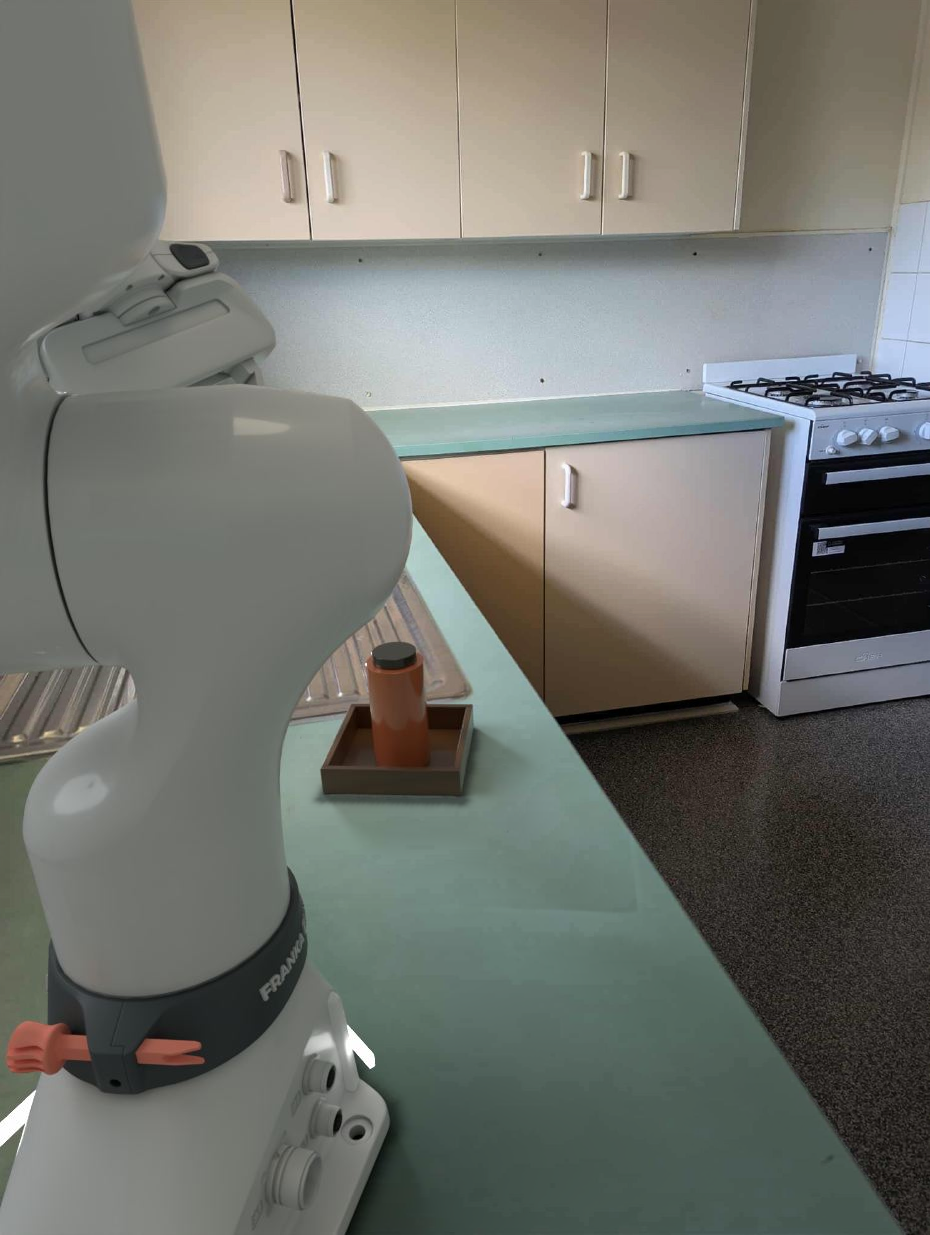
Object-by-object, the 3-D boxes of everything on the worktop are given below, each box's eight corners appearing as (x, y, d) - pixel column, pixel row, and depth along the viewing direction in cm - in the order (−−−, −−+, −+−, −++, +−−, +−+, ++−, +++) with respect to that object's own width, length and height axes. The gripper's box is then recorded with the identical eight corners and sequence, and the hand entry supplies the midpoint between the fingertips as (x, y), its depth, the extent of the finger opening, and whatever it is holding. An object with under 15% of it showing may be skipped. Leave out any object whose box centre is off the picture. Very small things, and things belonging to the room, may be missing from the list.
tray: (461, 801, 76) (459, 770, 74) (323, 799, 77) (319, 768, 76) (474, 731, 87) (472, 704, 86) (353, 730, 88) (351, 703, 87)
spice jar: (426, 773, 79) (418, 662, 75) (370, 772, 79) (358, 662, 75) (434, 744, 84) (427, 638, 80) (380, 743, 84) (371, 638, 80)
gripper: (8, 305, 60) (139, 469, 61) (223, 240, 73) (325, 376, 75) (-11, 357, 64) (111, 508, 66) (195, 287, 78) (292, 413, 80)
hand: (227, 437), depth 71 cm, fingers open, 8 cm apart
